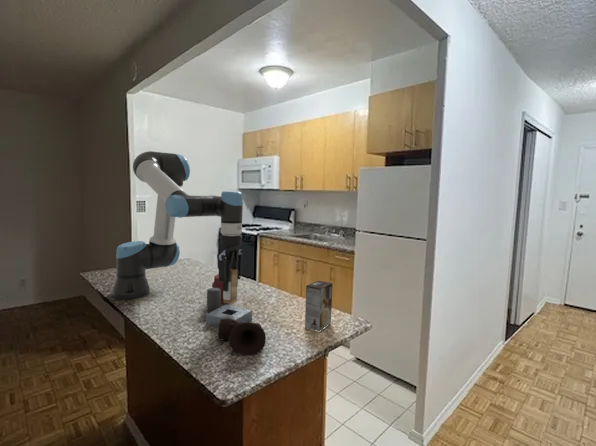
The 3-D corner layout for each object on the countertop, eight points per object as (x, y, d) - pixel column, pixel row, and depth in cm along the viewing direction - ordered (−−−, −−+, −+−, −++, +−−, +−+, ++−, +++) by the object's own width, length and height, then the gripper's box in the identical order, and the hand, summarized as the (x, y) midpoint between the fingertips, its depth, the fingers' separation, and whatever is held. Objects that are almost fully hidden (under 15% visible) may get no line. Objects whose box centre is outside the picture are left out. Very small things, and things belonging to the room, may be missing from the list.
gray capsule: (204, 312, 133) (204, 290, 132) (212, 308, 138) (212, 287, 137) (214, 315, 131) (215, 292, 130) (222, 310, 135) (223, 289, 135)
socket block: (205, 325, 121) (206, 314, 120) (225, 314, 132) (226, 304, 131) (233, 332, 116) (233, 320, 116) (252, 320, 127) (252, 310, 127)
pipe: (222, 311, 114) (216, 321, 99) (265, 314, 116) (267, 324, 101) (219, 340, 114) (213, 354, 99) (263, 343, 115) (264, 357, 100)
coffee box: (316, 320, 129) (318, 279, 128) (331, 324, 126) (333, 282, 124) (304, 328, 121) (305, 285, 120) (319, 333, 118) (321, 288, 116)
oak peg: (223, 302, 122) (224, 270, 121) (229, 299, 125) (229, 268, 124) (231, 304, 121) (232, 271, 120) (236, 301, 124) (237, 269, 123)
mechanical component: (238, 299, 151) (229, 306, 141) (217, 296, 153) (207, 303, 143) (239, 272, 149) (230, 277, 140) (218, 270, 151) (208, 275, 142)
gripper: (226, 237, 112) (225, 306, 114) (252, 233, 127) (251, 293, 129) (208, 235, 115) (207, 302, 117) (235, 231, 130) (234, 290, 132)
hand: (230, 297), depth 123 cm, fingers closed on oak peg, 3 cm apart
